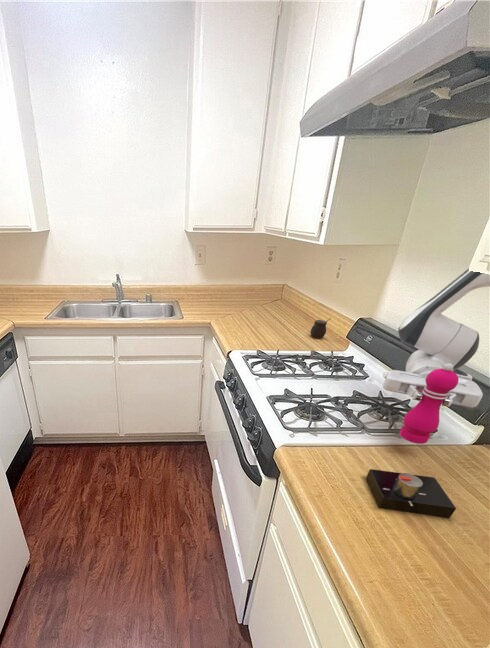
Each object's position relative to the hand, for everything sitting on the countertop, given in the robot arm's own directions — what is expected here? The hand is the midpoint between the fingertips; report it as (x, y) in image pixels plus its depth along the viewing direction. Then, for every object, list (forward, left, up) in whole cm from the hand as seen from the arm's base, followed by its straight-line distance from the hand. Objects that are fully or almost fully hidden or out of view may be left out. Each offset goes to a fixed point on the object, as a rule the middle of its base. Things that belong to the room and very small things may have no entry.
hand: (432, 400), depth 82 cm
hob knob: (+8, +19, -14) cm, 25 cm away
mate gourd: (+6, -100, -17) cm, 102 cm away
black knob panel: (+6, +17, -17) cm, 24 cm away
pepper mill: (0, -1, -11) cm, 11 cm away
